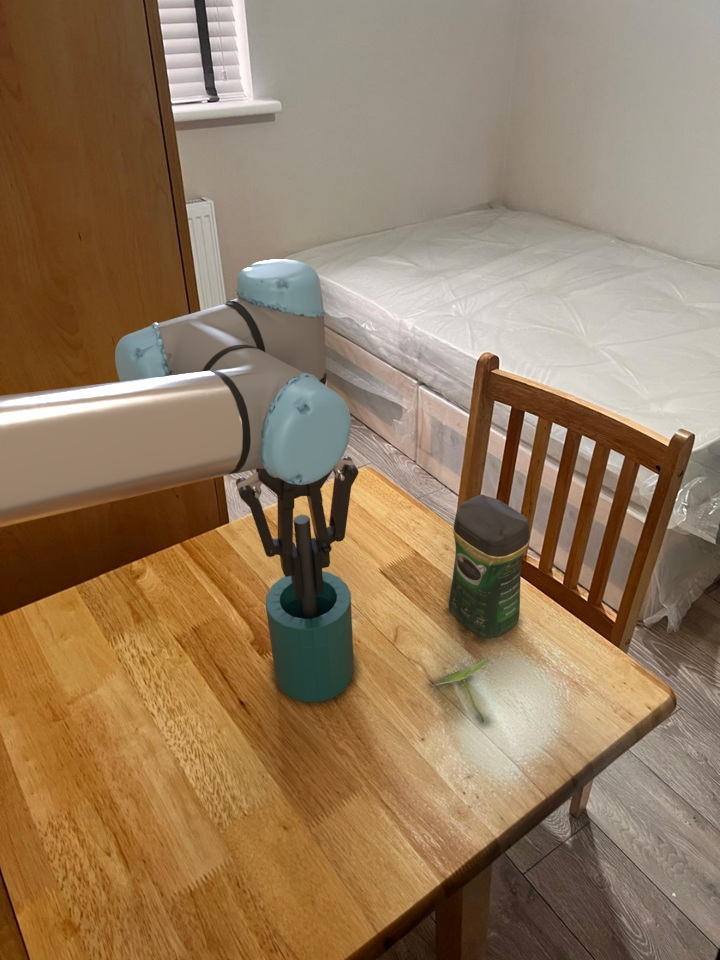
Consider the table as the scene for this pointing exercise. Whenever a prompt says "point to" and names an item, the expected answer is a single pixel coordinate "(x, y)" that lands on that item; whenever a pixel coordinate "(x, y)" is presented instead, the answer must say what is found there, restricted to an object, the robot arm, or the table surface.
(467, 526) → the coffee jar
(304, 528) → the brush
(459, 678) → the seedling
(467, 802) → the table surface
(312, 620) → the cup
